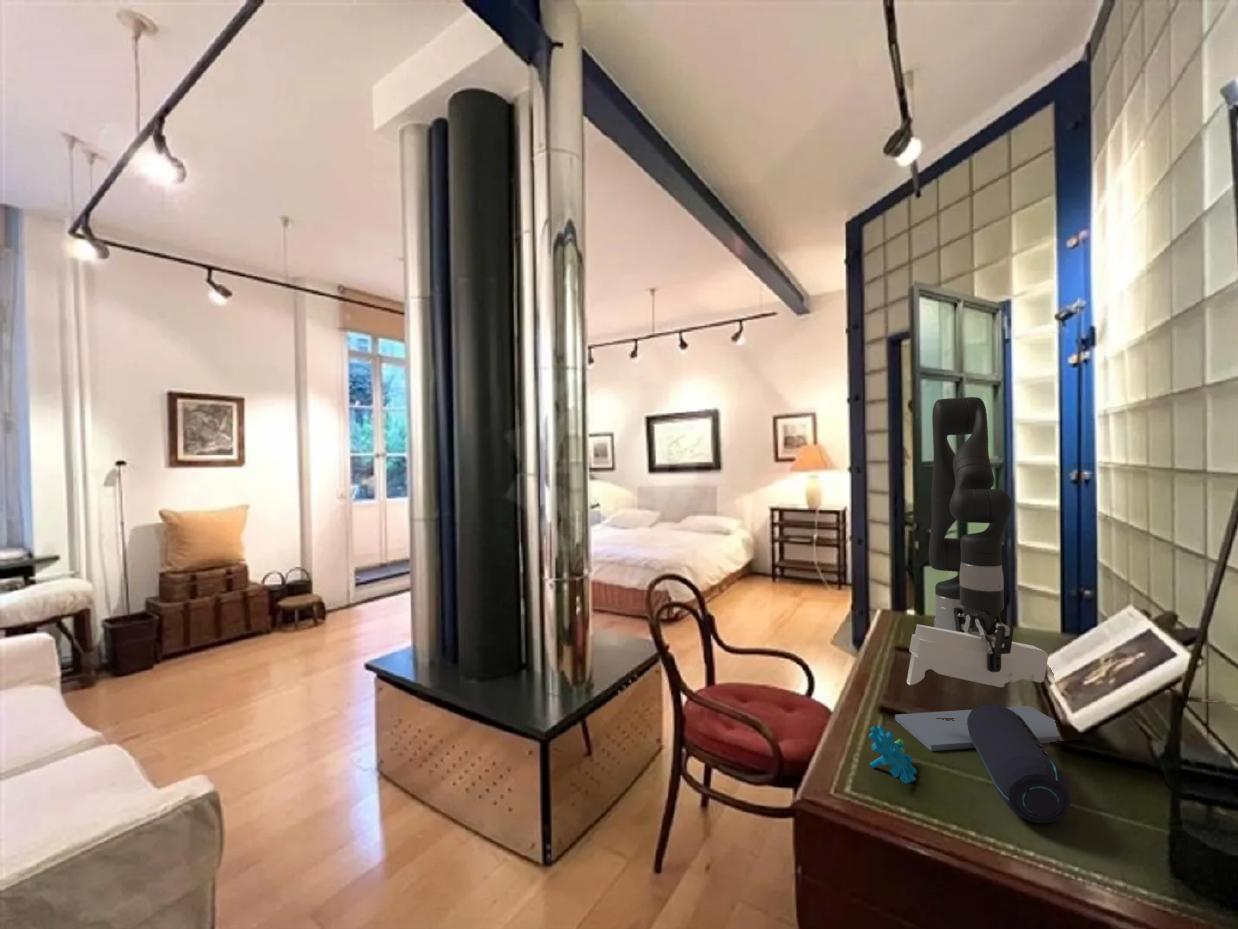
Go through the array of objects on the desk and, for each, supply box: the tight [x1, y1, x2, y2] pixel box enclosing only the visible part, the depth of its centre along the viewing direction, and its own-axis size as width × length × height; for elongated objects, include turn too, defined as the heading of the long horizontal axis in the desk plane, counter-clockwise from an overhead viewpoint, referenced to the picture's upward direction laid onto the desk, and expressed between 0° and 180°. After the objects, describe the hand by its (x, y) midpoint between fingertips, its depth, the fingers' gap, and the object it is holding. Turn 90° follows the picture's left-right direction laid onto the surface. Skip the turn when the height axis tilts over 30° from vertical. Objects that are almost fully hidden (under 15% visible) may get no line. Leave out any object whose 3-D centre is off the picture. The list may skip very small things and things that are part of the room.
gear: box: [868, 725, 917, 784], centre depth 97 cm, size 11×6×10 cm
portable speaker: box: [967, 703, 1073, 824], centre depth 92 cm, size 25×10×10 cm, turn 159°
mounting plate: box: [894, 705, 1060, 752], centre depth 110 cm, size 12×31×1 cm, turn 94°
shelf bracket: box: [906, 624, 1049, 688], centre depth 110 cm, size 6×25×13 cm, turn 85°
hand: (982, 664), depth 109 cm, fingers closed on shelf bracket, 5 cm apart
